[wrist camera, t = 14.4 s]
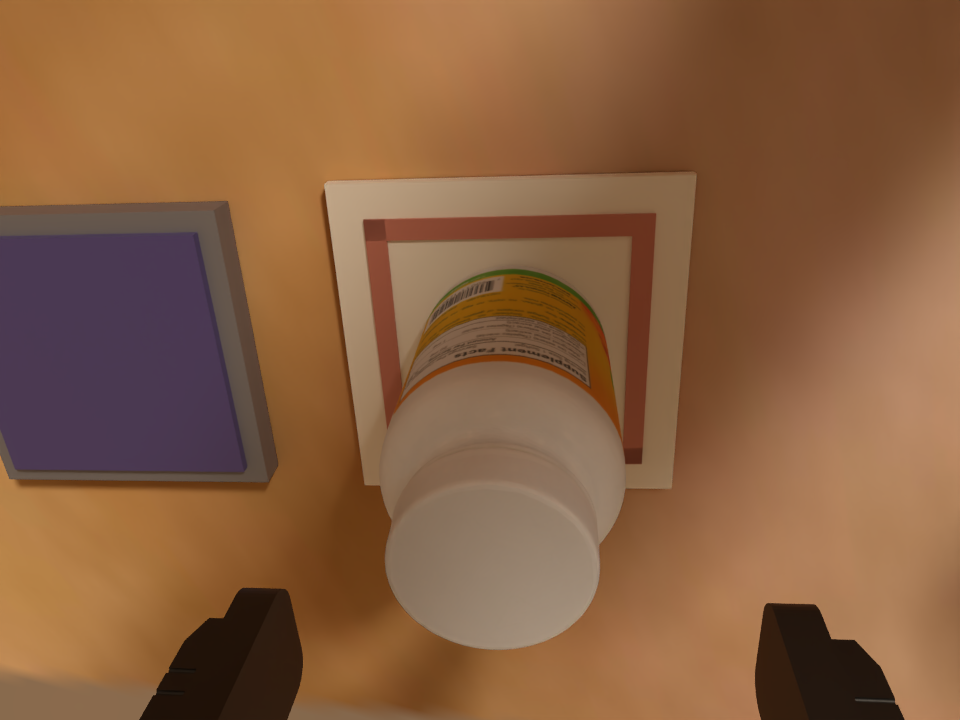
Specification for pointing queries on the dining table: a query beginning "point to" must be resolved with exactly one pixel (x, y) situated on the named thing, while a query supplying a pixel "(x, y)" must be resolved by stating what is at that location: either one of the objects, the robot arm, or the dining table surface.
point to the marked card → (525, 242)
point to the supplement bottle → (503, 462)
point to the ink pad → (128, 346)
